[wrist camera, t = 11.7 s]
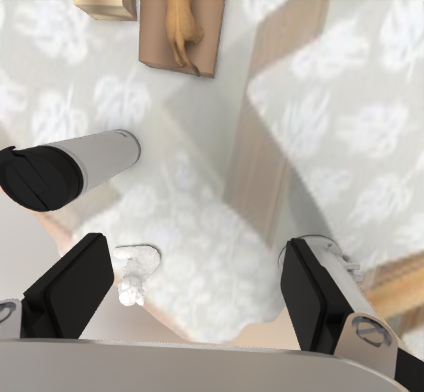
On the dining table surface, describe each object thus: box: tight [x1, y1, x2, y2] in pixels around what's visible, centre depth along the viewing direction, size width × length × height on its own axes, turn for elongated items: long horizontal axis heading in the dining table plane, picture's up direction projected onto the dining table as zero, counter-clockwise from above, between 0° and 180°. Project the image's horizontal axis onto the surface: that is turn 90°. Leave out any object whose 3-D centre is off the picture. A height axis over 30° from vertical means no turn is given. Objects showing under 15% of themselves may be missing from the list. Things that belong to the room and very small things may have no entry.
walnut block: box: [139, 0, 225, 78], centre depth 28 cm, size 10×16×5 cm, turn 171°
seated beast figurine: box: [113, 246, 160, 306], centre depth 41 cm, size 10×9×12 cm
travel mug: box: [0, 130, 140, 212], centre depth 28 cm, size 6×7×20 cm
